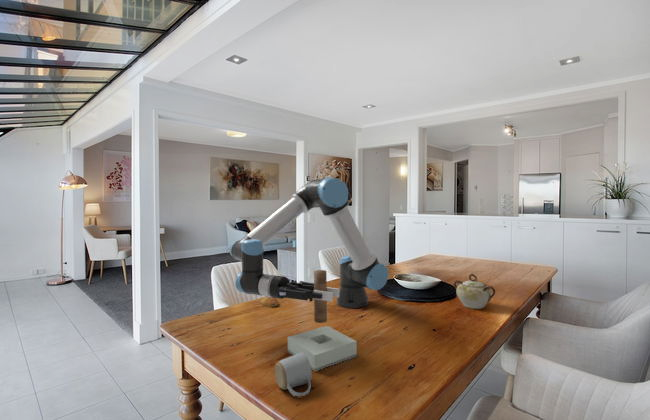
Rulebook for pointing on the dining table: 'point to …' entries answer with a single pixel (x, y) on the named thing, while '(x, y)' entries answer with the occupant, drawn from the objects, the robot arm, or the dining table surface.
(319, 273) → the dowel
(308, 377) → the ceramic mug
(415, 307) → the dining table surface
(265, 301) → the tan rounded lump
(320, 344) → the socket block
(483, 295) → the sugar bowl
